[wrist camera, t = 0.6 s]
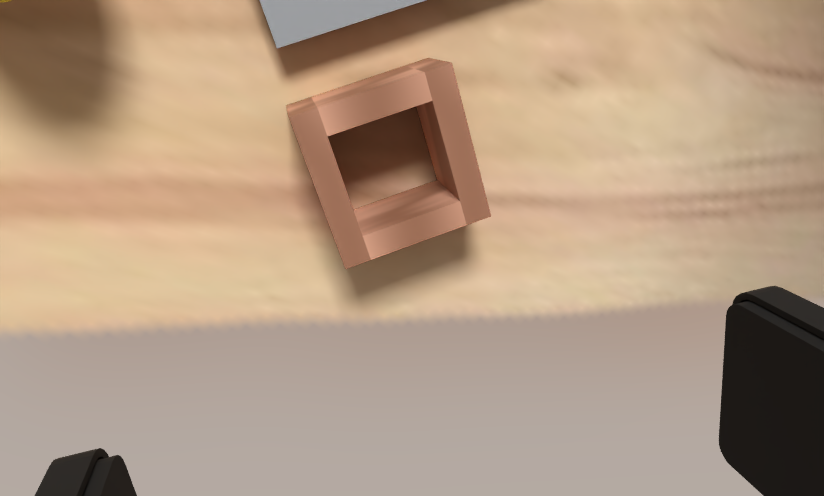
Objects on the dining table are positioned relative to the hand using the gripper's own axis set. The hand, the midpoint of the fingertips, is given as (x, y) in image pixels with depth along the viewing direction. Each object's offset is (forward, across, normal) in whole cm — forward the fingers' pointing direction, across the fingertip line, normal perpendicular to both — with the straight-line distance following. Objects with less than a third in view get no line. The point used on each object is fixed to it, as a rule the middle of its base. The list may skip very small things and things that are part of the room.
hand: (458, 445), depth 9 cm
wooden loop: (+22, -3, 0) cm, 22 cm away
